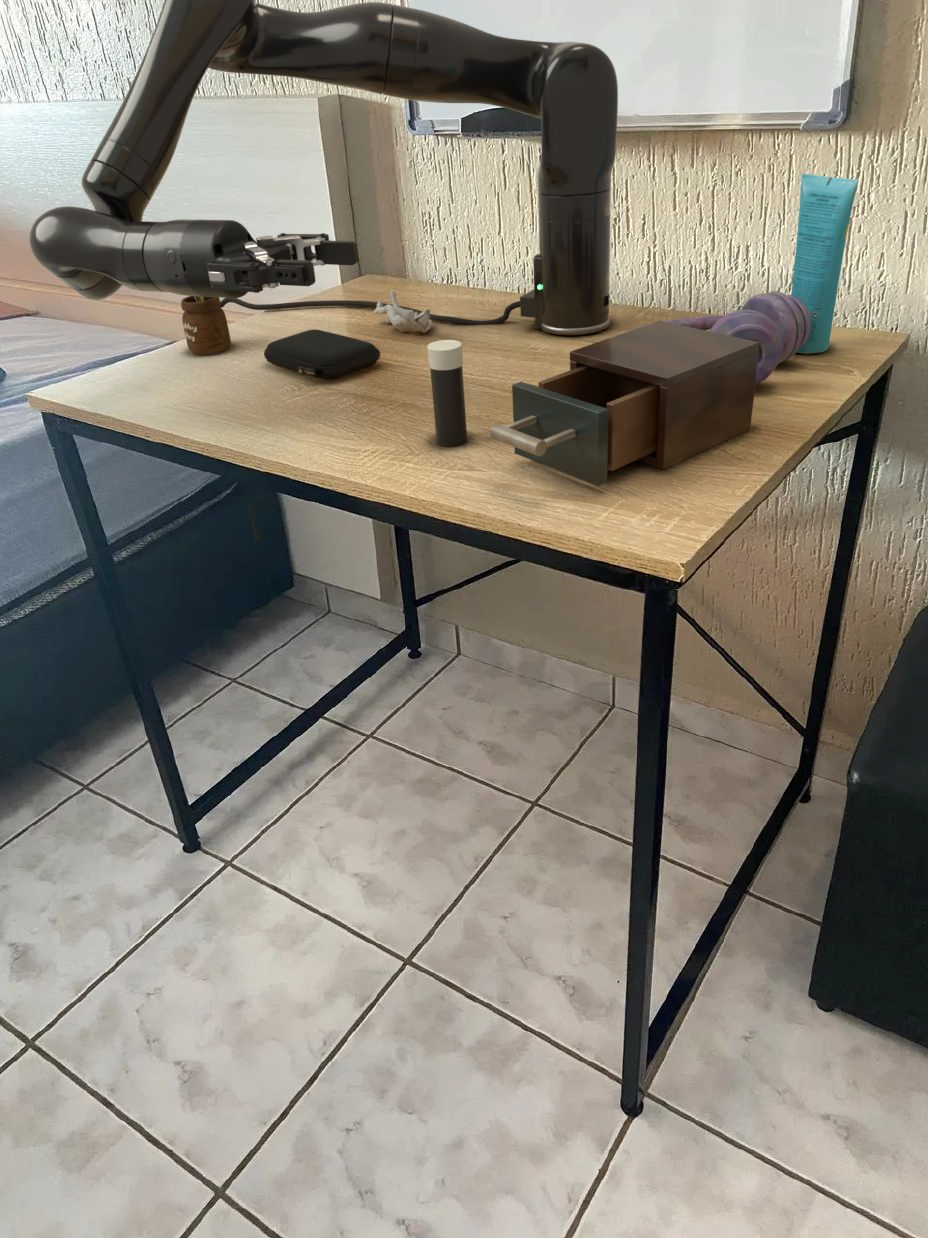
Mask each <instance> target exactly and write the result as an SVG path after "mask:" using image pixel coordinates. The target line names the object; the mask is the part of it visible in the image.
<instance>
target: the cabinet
mask: <svg viewBox="0 0 928 1238" xmlns="http://www.w3.org/2000/svg"><path fill="white" fill-rule="evenodd" d="M664 321H665V320H658V321H655V322H652V323H648V324H649V325H647V324H645V325H646V326H643V325H642V326H643V327H640V326H639V327H640V328H637V327H636V328H637V329H634V328H633V329H634V330H632V329H631V330H629V331H626V332H622V333H620V334H617V335H614V336H611V337H608V338H606V339H602V340H599V341H596V342H594V343H592V344H588V345H585V346H583V347H579V348H576V349H574V350H571V351H569V371H570V370H573V369H576V368H578V367H581V366H584V365H587V366H591V367H594V368H598V369H602V370H605V371H609V372H612V373H616V374H619V375H623V376H627V377H630V378H634V379H637V380H641V381H644V382H648V383H652V384H655V385H659V386H660V398H659V420H658V441H657V451H655V452H653V453H651V454H648V455H646V456H644V457H642V458H640V459H637V460H636V461H638V462H641V463H645V464H647V465H649V466H652V467H655V468H657V469H660V470H666V469H668V468H671V467H673V466H674V465H677V464H679V463H681V462H683V461H685V460H687V459H689V458H691V457H694V456H696V455H698V454H700V453H702V452H705V451H707V450H709V449H710V448H712V447H714V446H717V445H720V444H721V443H724V442H726V441H727V440H730V439H732V438H734V437H737V436H738V435H741V434H742V433H745V432H747V431H749V430H750V429H751V426H752V416H753V408H754V399H755V389H756V385H755V380H756V370H757V360H758V351H759V342H755V341H751V340H746V339H742V338H737V337H732V336H728V335H723V334H719V333H714V332H710V330H701V329H696V328H692V327H687V326H682V325H678V324H673V323H669V322H664Z"/></svg>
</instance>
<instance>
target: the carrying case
mask: <svg viewBox="0 0 928 1238" xmlns="http://www.w3.org/2000/svg"><path fill="white" fill-rule="evenodd" d="M263 356H264V359H266V362H268V363H271V364H272V365H274V366H275V367H280V368H283V369H286V370H289V371H292V372H296V373H298V374H299V375H300V376H309V377H313V378H316V379H320V380H323V381H336V380H339V379H343V378H345V377H348V376H349V375H350V376H351V375H354V374H356V373H359V372H362V371H364V370H367V369H370V368H373V367H374V366H375V365H376V364H377V363H378V361H379V359H380V358H381V351H380V350H379V348H377V347H376V345H374V344H373V343H372V342H369V341H366V340H361V339H357V338H354V337H350V336H347V335H342V334H339V333H335V332H330V331H327V330H326V331H325V330H321V329H307V330H304V331H300V332H299V333H295V334H292V335H289V336H286V337H282V338H280V339H276V340H273V341H271V342H269V343H268V344H267V345H266V348H265V349H264V352H263Z"/></svg>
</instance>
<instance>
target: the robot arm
mask: <svg viewBox="0 0 928 1238" xmlns="http://www.w3.org/2000/svg"><path fill="white" fill-rule="evenodd" d="M163 1H164V2H163V5H162V7H161V11H160V13H159V17H158V20H157V23H156V26H155V28H154V30H153V33H152V36H151V38H150V41H149V43H148V46H147V48H146V51H145V53H144V56H143V58H142V60H141V63H140V65H139V67H138V69H137V71H136V74H135V76H134V78H133V80H132V82H131V84H130V86H129V88H128V90H127V92H126V95H125V97H124V99H123V101H122V103H121V104H120V107H119V108H118V110H117V111H116V113H115V116H114V118H113V120H112V121H111V123H110V125H109V127H108V128H107V131H106V132H105V134H104V136H103V137H102V140H100V142H99V144H98V146H97V148H96V150H95V151H94V154H93V155H92V157H91V158H90V161H89V163H88V164H87V166H86V168H85V170H84V172H83V173H82V174H83V175H82V178H81V187H82V189H83V191H84V193H85V195H86V197H87V198H88V199H89V201H90V203H91V204H92V206H93V208H94V210H93V209H89V208H86V207H80V206H70V205H69V206H67V205H66V206H57V207H53V208H51V209H48V210H47V211H45V212H43V213H42V214H40V215H39V216H38V217H37V218H36V219H35V220H34V222H33V224H32V225H31V228H30V232H29V241H28V242H29V246H30V250H31V253H32V254H33V256H34V258H35V259H36V260H37V262H38V263H39V264H40V265H41V266H42V267H43V268H45V269H46V270H47V271H48V272H50V273H51V274H53V275H54V276H56V277H57V278H58V279H60V280H61V281H62V282H63V283H64V284H66V285H67V286H69V287H70V288H71V289H72V290H74V291H75V292H77V293H78V294H79V295H81V296H82V297H84V298H86V299H89V300H93V301H100V300H104V299H107V298H109V297H111V296H112V295H114V294H115V293H117V291H119V290H120V288H121V287H122V286H123V287H126V288H128V289H131V290H135V291H141V292H155V293H157V292H158V293H171V294H175V295H178V296H186V297H188V296H203V297H219V298H223V299H222V300H220V302H221V305H220V306H219V307H220V308H222V309H223V308H224V307H225V306H226V305H227V304H229V303H233V304H236V305H239V306H241V307H243V308H246V309H249V310H254V311H272V310H273V311H274V310H285V309H297V308H307V307H308V308H313V307H314V308H315V307H362V308H363V307H364V308H375V309H376V308H377V303H378V302H379V301H370V300H345V299H343V300H342V299H341V300H339V299H338V300H334V299H333V300H307V301H294V302H283V303H268V304H267V303H265V304H264V303H263V304H257V303H256V304H255V303H250V302H246V301H244V300H242V299H239V298H243V297H244V296H246V295H247V294H248V293H255V294H259V293H261V292H263V291H264V288H267V289H268V288H269V289H276V288H277V287H280V286H291V287H292V286H293V287H295V286H296V287H310V286H313V285H314V284H315V283H316V274H315V267H316V266H326V265H330V266H331V265H333V266H354V265H356V264H358V263H359V254H358V252H359V251H358V244H357V243H356V242H355V241H354V240H330V237H329V235H330V234H328V233H324V232H322V233H285V232H281V233H279V234H277V235H276V237H274V236H272V235H264V236H257V237H256V238H255V239H256V240H255V239H254V238H253V236H252V235H251V233H250V232H249V230H248V229H247V228H246V227H245V226H244V225H243V224H242V223H240V222H239V221H236V220H233V219H190V218H189V219H188V218H187V219H183V218H182V219H181V218H180V219H171V220H167V221H143V217H144V214H145V212H146V211H145V210H146V209H147V207H148V206H149V204H150V202H151V201H152V198H153V197H154V195H155V193H156V192H157V190H158V187H159V186H160V184H161V182H162V180H163V178H164V176H165V175H166V172H167V171H168V169H169V168H170V167H169V166H170V164H171V162H172V160H173V157H174V155H175V153H176V150H177V147H178V144H179V141H180V138H181V135H182V132H183V128H184V126H185V123H186V119H187V116H188V112H189V111H190V107H191V104H192V102H193V100H194V97H195V95H196V92H197V90H198V89H199V86H200V83H201V82H202V80H203V77H204V76H205V74H206V73H207V70H208V69H211V70H214V71H218V72H223V73H232V74H233V73H235V74H245V75H258V76H259V75H261V76H272V77H273V76H274V77H287V78H295V79H303V80H308V81H313V82H317V83H322V84H327V85H332V86H337V87H343V88H349V89H350V88H351V89H355V90H360V91H364V92H368V93H369V92H370V93H372V94H373V93H374V94H377V95H383V96H387V97H392V98H393V97H394V98H397V99H398V98H399V99H404V100H409V101H414V102H423V103H436V104H481V105H482V104H483V105H489V106H490V105H491V106H495V107H500V108H504V109H507V110H510V111H511V110H512V111H515V112H518V113H522V114H524V115H528V116H531V117H533V118H537V119H540V128H541V129H540V135H541V137H540V138H541V140H540V142H541V143H540V144H541V151H540V162H539V166H538V170H537V206H538V208H537V210H538V213H537V214H538V247H539V253H537V254H535V255H534V256H533V260H532V262H533V265H532V266H533V289H532V290H530V291H528V292H526V293H525V294H523V295H521V296H520V297H519V301H514V302H512V303H510V304H508V306H506V307H505V309H504V312H503V314H502V315H501V316H499V317H497V318H493V319H489V320H476V319H467V318H461V317H455V316H447V315H439V314H433V313H430V318H429V320H431V321H435V322H440V323H441V322H442V323H450V324H457V325H464V326H484V325H485V326H486V325H487V326H488V325H499V324H503V323H504V322H506V321H507V320H508V319H509V317H510V314H511V312H512V311H513V310H516V309H520V317H524V318H525V317H526V318H534V330H541V331H543V332H545V333H547V334H551V335H552V334H553V335H557V336H558V335H560V336H581V335H583V336H584V335H590V334H594V333H598V332H602V331H603V330H606V329H607V328H608V327H609V326H610V319H611V318H610V305H611V295H610V274H611V273H610V272H611V271H610V270H611V269H610V267H611V203H612V202H611V201H612V199H611V198H612V197H611V196H612V174H613V170H614V166H615V162H616V155H617V137H618V136H617V132H618V113H619V112H618V111H619V109H618V108H619V88H618V87H619V86H618V84H619V83H618V77H617V72H616V68H615V66H614V63H613V61H612V60H611V57H609V55H608V54H607V53H606V52H605V51H603V50H602V49H601V48H600V47H598V46H596V45H594V44H591V43H585V42H577V41H563V42H561V41H560V42H559V41H558V42H556V41H555V42H554V41H541V40H539V41H538V40H528V39H517V38H511V37H504V36H501V35H496V34H493V33H490V32H487V31H484V30H482V29H479V28H477V27H474V26H472V25H469V24H467V23H464V22H462V21H459V20H456V19H453V18H450V17H447V16H444V15H440V14H438V13H433V12H430V11H427V10H423V9H418V8H413V7H408V6H404V5H399V4H392V3H387V2H378V1H369V2H367V1H366V2H358V3H353V4H348V5H343V6H339V7H335V8H334V7H333V8H331V9H325V10H319V11H310V12H309V11H308V12H307V11H306V12H305V11H293V10H287V9H282V8H279V7H273V6H270V5H265V4H262V3H259V2H257V0H163ZM312 247H314V252H313V250H312ZM382 303H383V305H382V307H384V306H386V305H388V304H389V305H392V303H386V302H382ZM392 306H393V305H392ZM399 307H400V308H403V309H407V310H413V311H414V312H417V313H418V314H420V313H422V312H423V311H422V310H419V309H416V308H412V307H407V306H402V305H399ZM248 510H249V514H250V519H251V523H252V524H251V525H252V529H253V534H254V539H255V541H260V539H261V538H260V532H259V527H258V523H257V517H256V513H255V507H254V506H252V505H248Z"/></svg>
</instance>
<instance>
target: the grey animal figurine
mask: <svg viewBox="0 0 928 1238" xmlns="http://www.w3.org/2000/svg"><path fill="white" fill-rule="evenodd" d="M389 293H390V302H391V304H392V305H393V306H392V305H389V304H390V303H387V304H388V305H386V306H384V307H382V305H383V303H384V302H383V301H382V300H379V301H377V302H378V303H377V308H375V309H374V310H373V314H374V315H378V314H387V315H386V316H387V318H386V319H385V323H386V324H390V323H391V325H392V326H393V327H394V328H396V329H397V331H399V332H400V333H406V332H409V331H411V330H417V331H419V332H421V333H422V334H425V333H427V332H428V331H429V330H431V328H432V326H433V324H434V322H433V320H430V319H429V318H430V314H431V309H430V308H428V309H426V310H423V311H422V313H420V314H418V313H417V312H414V311H413V310H407V309H403V308H400V307H399V306H400V305H399V303H398V301H397V298H396V296H397V293H396V289H391V290H389Z"/></svg>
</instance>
